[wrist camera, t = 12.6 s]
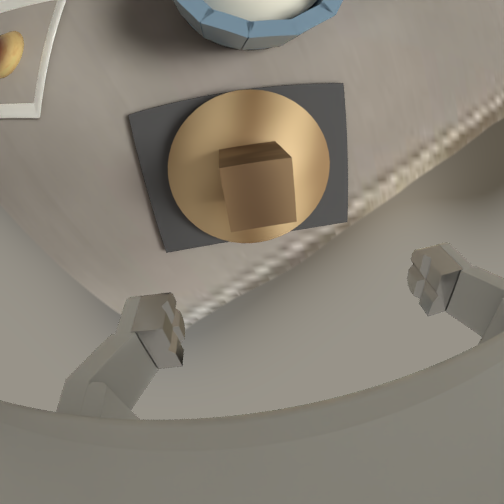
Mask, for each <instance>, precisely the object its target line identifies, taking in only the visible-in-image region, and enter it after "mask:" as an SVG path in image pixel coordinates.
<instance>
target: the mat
mask: <svg viewBox="0 0 504 504" xmlns="http://www.w3.org/2000/svg"><path fill="white" fill-rule="evenodd" d="M246 90H249V89H246ZM252 90H264V91H269V92H273V93H276V94H279V95H282V96H285V97H286V98H288V99H290V100H292V101H294V102H295V103H297V104H298V105H300V106H301V107H302V108H304V109H305V110H306V111H307V112H308V113H309V114H310V115H311V116H312V118H313V119H314V120H315V121H316V123H317V124H318V126H319V127H320V129H321V131H322V133H323V135H324V138H325V140H326V143H327V147H328V151H329V160H330V168H329V177H328V182H327V185H326V189H325V191H324V194H323V196H322V198H321V200H320V202H319V203H318V205H317V206H316V208H315V209H314V210H313V212H312V213H311V214H310V215H309V216H308V217H307V218H306V219H305V220H304V221H303V222H302V223H301V224H300V225H298V226H297V227H296V228H294V229H293V230H291V231H294V230H300V229H307V228H313V227H319V226H325V225H331V224H337V223H344V222H347V213H348V158H347V130H346V112H345V98H344V86H343V83H322V84H299V85H284V86H273V87H263V88H254V89H252ZM226 93H228V92H226ZM222 94H225V93H220V94H214V95H208V96H203V97H198V98H193V99H188V100H184V101H179V102H175V103H171V104H166V105H162V106H158V107H155V108H151V109H147V110H144V111H140V112H137V113H133V114H130V115H129V120H130V124H131V128H132V133H133V137H134V141H135V145H136V149H137V154H138V157H139V161H140V165H141V169H142V173H143V177H144V180H145V184H146V187H147V191H148V195H149V198H150V201H151V205H152V208H153V212H154V215H155V218H156V222H157V225H158V228H159V231H160V234H161V237H162V241H163V244H164V247H165V250H166V253H168V252H173V251H179V250H184V249H190V248H195V247H201V246H207V245H212V244H218V243H224V242H230V241H226V240H222V239H219V238H216V237H214V236H211V235H209V234H208V233H206V232H204V231H202V230H201V229H199V228H198V227H196V226H195V225H194V224H193V223H192V222H191V221H190V220H189V219H188V218H187V217H186V216H185V215H184V214H183V212H182V211H181V209H180V208H179V206H178V205H177V203H176V201H175V199H174V197H173V194H172V191H171V188H170V184H169V179H168V159H169V153H170V149H171V145H172V143H173V140H174V138H175V136H176V134H177V132H178V130H179V129H180V127H181V125H182V124H183V123H184V122H185V120H186V119H187V118H188V117H189V116H190V115H191V114H192V113H193V112H194V111H195V110H196V109H197V108H198V107H200V106H201V105H203V104H204V103H205V102H207V101H209V100H211V99H213V98H214V97H216V96H219V95H222Z"/></svg>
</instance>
